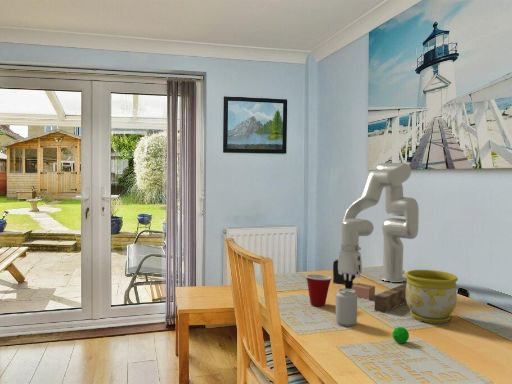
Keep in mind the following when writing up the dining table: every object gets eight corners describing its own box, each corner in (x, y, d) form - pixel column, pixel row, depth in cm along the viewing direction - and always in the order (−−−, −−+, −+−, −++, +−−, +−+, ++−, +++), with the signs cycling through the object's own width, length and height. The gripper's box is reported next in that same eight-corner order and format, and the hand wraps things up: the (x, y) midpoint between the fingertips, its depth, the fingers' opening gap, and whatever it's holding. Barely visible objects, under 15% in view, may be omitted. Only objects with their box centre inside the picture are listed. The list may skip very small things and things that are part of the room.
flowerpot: (396, 317, 164) (397, 274, 164) (416, 307, 177) (417, 267, 177) (445, 330, 152) (447, 283, 151) (462, 318, 165) (464, 274, 165)
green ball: (399, 346, 137) (400, 331, 137) (389, 340, 141) (389, 326, 141) (412, 344, 139) (412, 329, 139) (401, 338, 143) (401, 324, 143)
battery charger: (346, 281, 218) (347, 259, 217) (347, 283, 214) (347, 260, 214) (332, 281, 219) (332, 258, 218) (332, 283, 215) (333, 259, 214)
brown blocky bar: (405, 296, 193) (406, 283, 193) (414, 298, 190) (415, 284, 190) (374, 310, 173) (375, 295, 172) (384, 312, 170) (384, 297, 170)
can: (344, 328, 152) (345, 294, 152) (331, 321, 159) (331, 288, 159) (361, 324, 156) (361, 291, 155) (347, 318, 163) (348, 286, 162)
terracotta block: (358, 294, 197) (358, 283, 196) (374, 297, 192) (375, 286, 191) (351, 296, 192) (351, 285, 192) (368, 300, 187) (369, 288, 187)
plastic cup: (335, 303, 181) (336, 274, 180) (324, 310, 172) (325, 280, 171) (311, 299, 187) (312, 271, 186) (300, 305, 178) (300, 276, 177)
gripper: (369, 249, 193) (367, 290, 194) (340, 245, 204) (339, 284, 205) (360, 251, 188) (359, 293, 189) (331, 247, 198) (330, 287, 199)
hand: (348, 288), depth 197 cm, fingers closed
